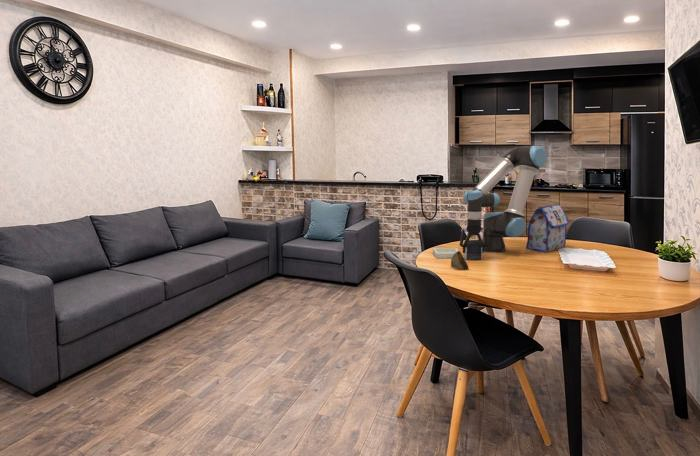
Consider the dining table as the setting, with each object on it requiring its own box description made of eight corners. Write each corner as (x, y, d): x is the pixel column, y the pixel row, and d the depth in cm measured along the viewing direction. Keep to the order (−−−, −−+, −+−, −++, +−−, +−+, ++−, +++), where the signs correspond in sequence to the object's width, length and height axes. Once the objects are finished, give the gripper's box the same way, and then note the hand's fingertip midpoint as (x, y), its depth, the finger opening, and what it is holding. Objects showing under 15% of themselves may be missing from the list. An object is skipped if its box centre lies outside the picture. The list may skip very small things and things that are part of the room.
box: (478, 257, 258) (479, 239, 257) (481, 260, 253) (482, 241, 251) (464, 258, 259) (465, 239, 257) (467, 260, 253) (467, 241, 251)
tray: (456, 252, 272) (456, 248, 271) (461, 258, 258) (461, 253, 257) (432, 253, 272) (432, 248, 271) (436, 258, 258) (436, 253, 257)
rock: (445, 261, 243) (447, 263, 233) (455, 248, 242) (458, 249, 232) (461, 273, 243) (465, 275, 233) (471, 260, 242) (475, 262, 232)
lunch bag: (550, 254, 265) (553, 208, 261) (524, 249, 278) (526, 206, 273) (569, 248, 279) (572, 205, 274) (543, 244, 292) (546, 203, 287)
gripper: (491, 217, 255) (489, 256, 259) (454, 217, 256) (453, 257, 260) (495, 219, 248) (493, 260, 252) (457, 219, 248) (456, 260, 252)
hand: (473, 258), depth 256 cm, fingers closed on box, 8 cm apart
